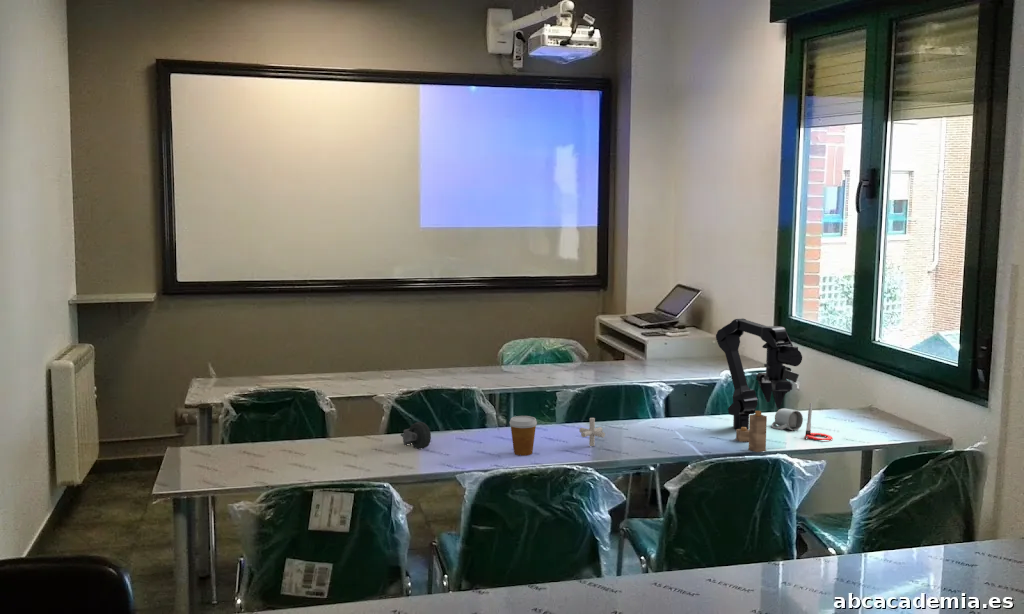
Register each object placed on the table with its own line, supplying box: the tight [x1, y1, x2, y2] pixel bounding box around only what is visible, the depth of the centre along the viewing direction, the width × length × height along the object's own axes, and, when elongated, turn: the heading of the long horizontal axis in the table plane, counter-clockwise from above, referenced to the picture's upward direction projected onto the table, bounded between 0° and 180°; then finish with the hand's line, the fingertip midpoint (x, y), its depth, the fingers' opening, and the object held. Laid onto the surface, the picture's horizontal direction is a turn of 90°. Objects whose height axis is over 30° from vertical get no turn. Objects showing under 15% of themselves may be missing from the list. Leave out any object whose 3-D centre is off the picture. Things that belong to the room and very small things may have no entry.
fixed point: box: [735, 427, 749, 443], centre depth 315 cm, size 4×4×4 cm
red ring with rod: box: [804, 402, 833, 441], centre depth 320 cm, size 8×13×9 cm
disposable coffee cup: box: [508, 415, 538, 456], centre depth 301 cm, size 10×10×12 cm
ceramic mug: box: [771, 408, 804, 432], centre depth 334 cm, size 11×8×8 cm
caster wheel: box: [400, 421, 432, 449], centre depth 310 cm, size 6×10×15 cm
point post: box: [748, 410, 768, 453], centre depth 302 cm, size 4×4×14 cm
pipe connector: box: [579, 417, 606, 447], centre depth 310 cm, size 10×10×10 cm
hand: (773, 404), depth 316 cm, fingers open, 9 cm apart
